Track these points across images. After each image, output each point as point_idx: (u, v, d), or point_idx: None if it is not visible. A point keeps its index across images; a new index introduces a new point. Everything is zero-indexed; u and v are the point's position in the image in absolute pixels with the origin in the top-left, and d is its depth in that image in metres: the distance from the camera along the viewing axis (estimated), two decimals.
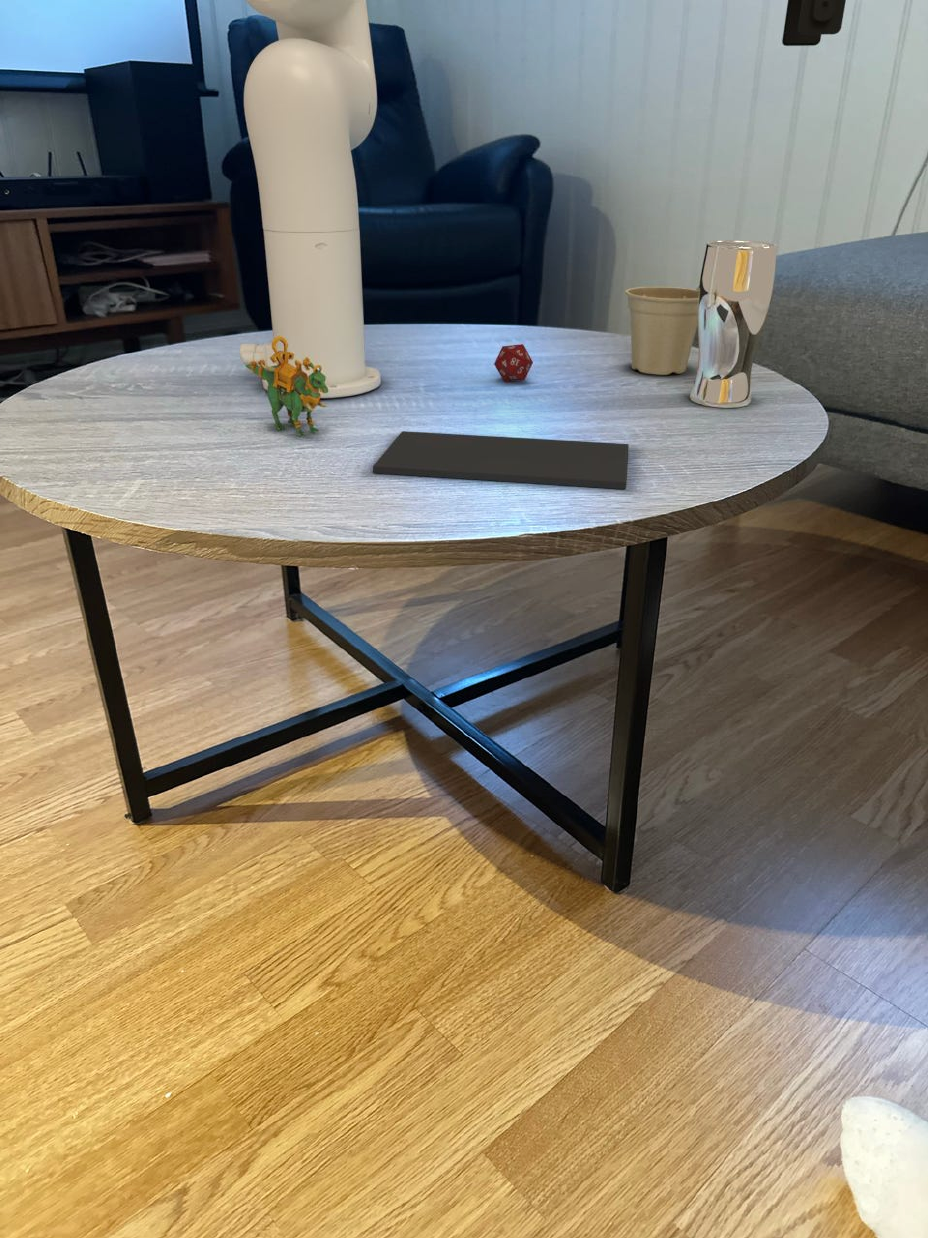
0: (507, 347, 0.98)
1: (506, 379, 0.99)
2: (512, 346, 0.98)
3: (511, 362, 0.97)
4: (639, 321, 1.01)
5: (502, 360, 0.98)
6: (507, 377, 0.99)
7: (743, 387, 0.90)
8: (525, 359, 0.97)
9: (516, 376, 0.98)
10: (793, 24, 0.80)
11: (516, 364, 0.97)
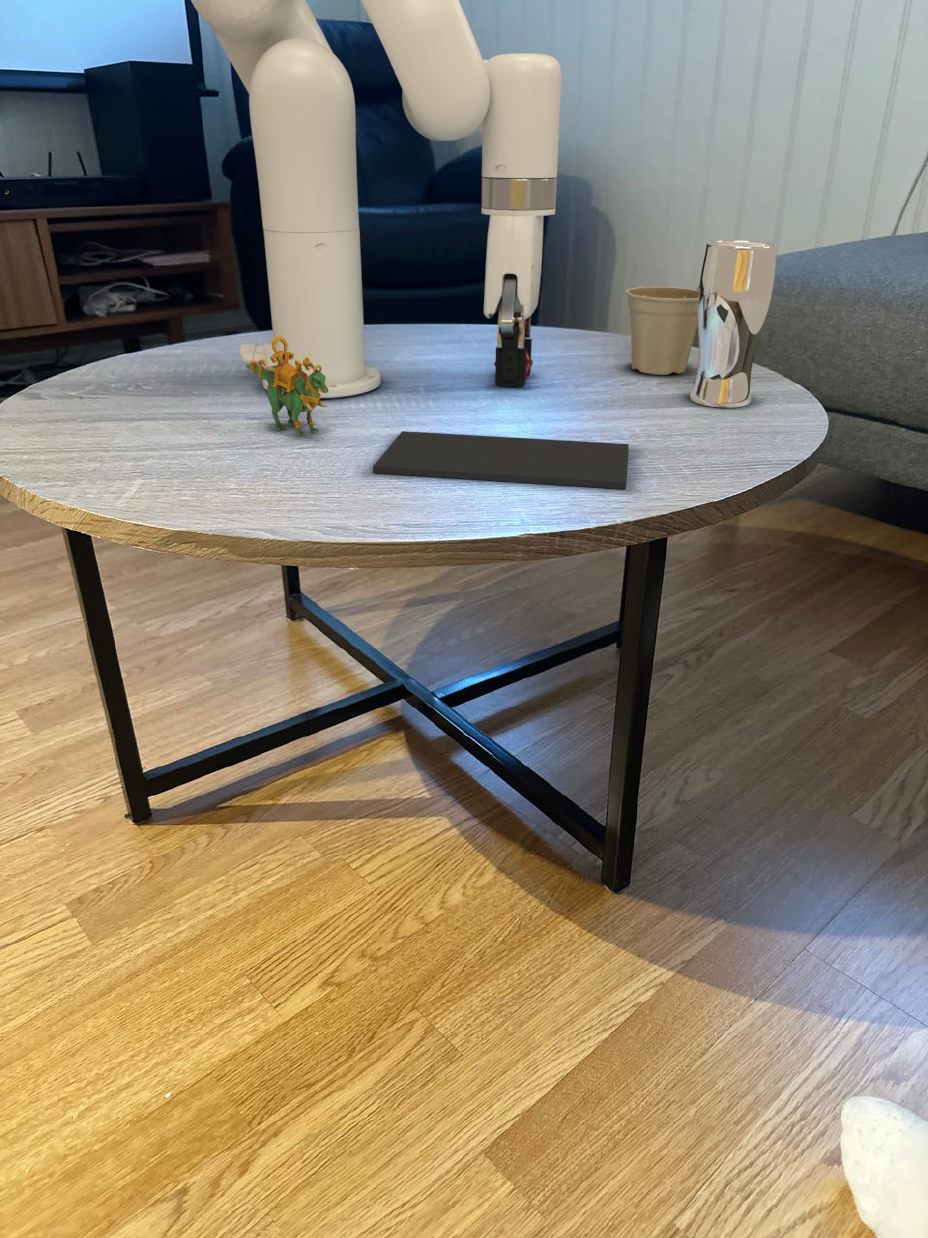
0: None
1: None
2: None
3: None
4: (639, 321, 1.01)
5: None
6: None
7: (743, 387, 0.90)
8: None
9: None
10: None
11: None
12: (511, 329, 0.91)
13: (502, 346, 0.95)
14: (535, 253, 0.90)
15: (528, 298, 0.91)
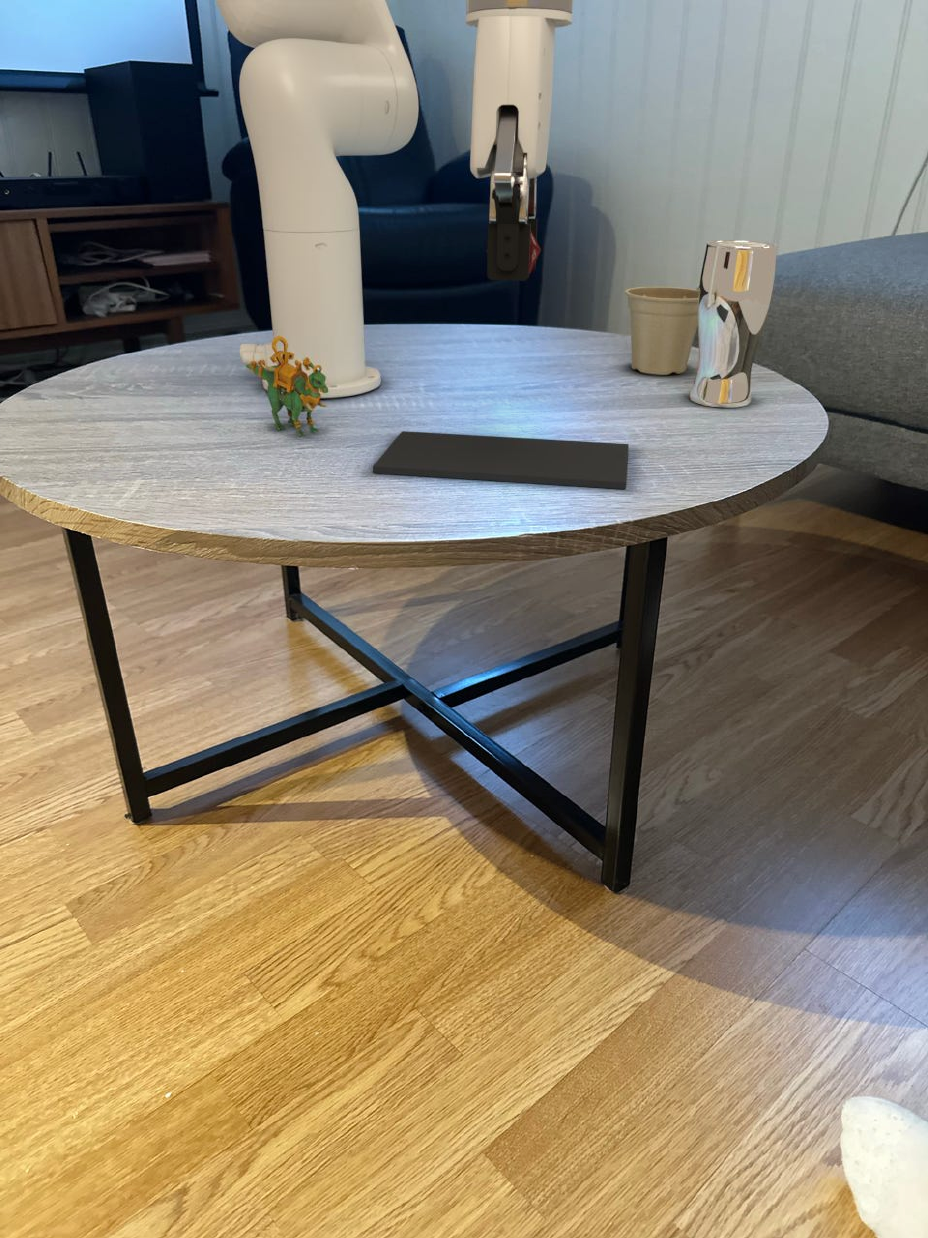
0: None
1: None
2: None
3: None
4: (639, 321, 1.01)
5: None
6: None
7: (743, 387, 0.90)
8: (530, 242, 0.70)
9: None
10: None
11: None
12: (510, 187, 0.63)
13: (497, 219, 0.67)
14: (544, 76, 0.63)
15: (533, 142, 0.63)
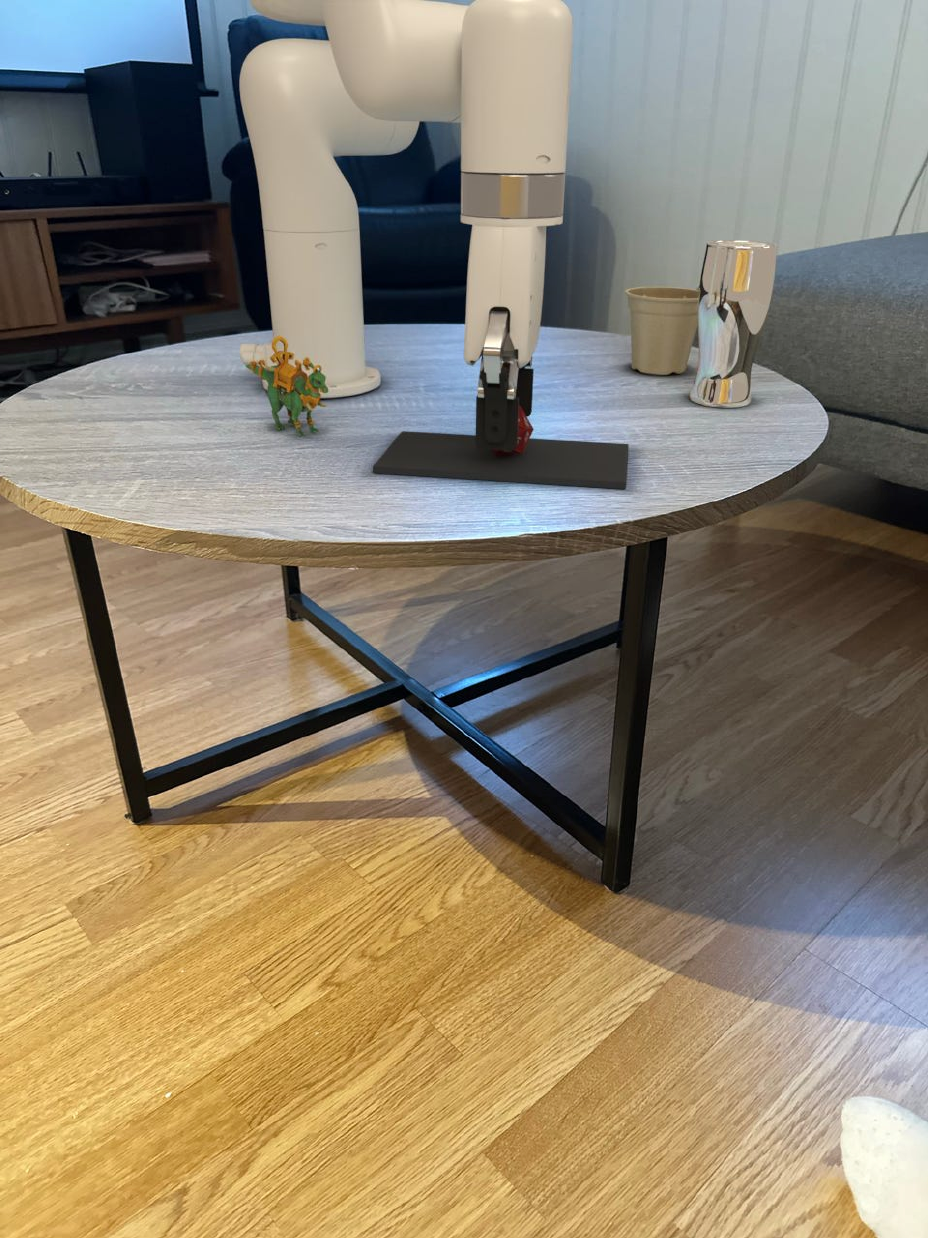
0: None
1: (498, 452, 0.74)
2: None
3: None
4: (639, 321, 1.01)
5: None
6: (499, 450, 0.74)
7: (743, 387, 0.90)
8: (523, 427, 0.72)
9: None
10: None
11: None
12: (498, 362, 0.63)
13: (485, 396, 0.67)
14: (535, 278, 0.65)
15: (524, 340, 0.66)
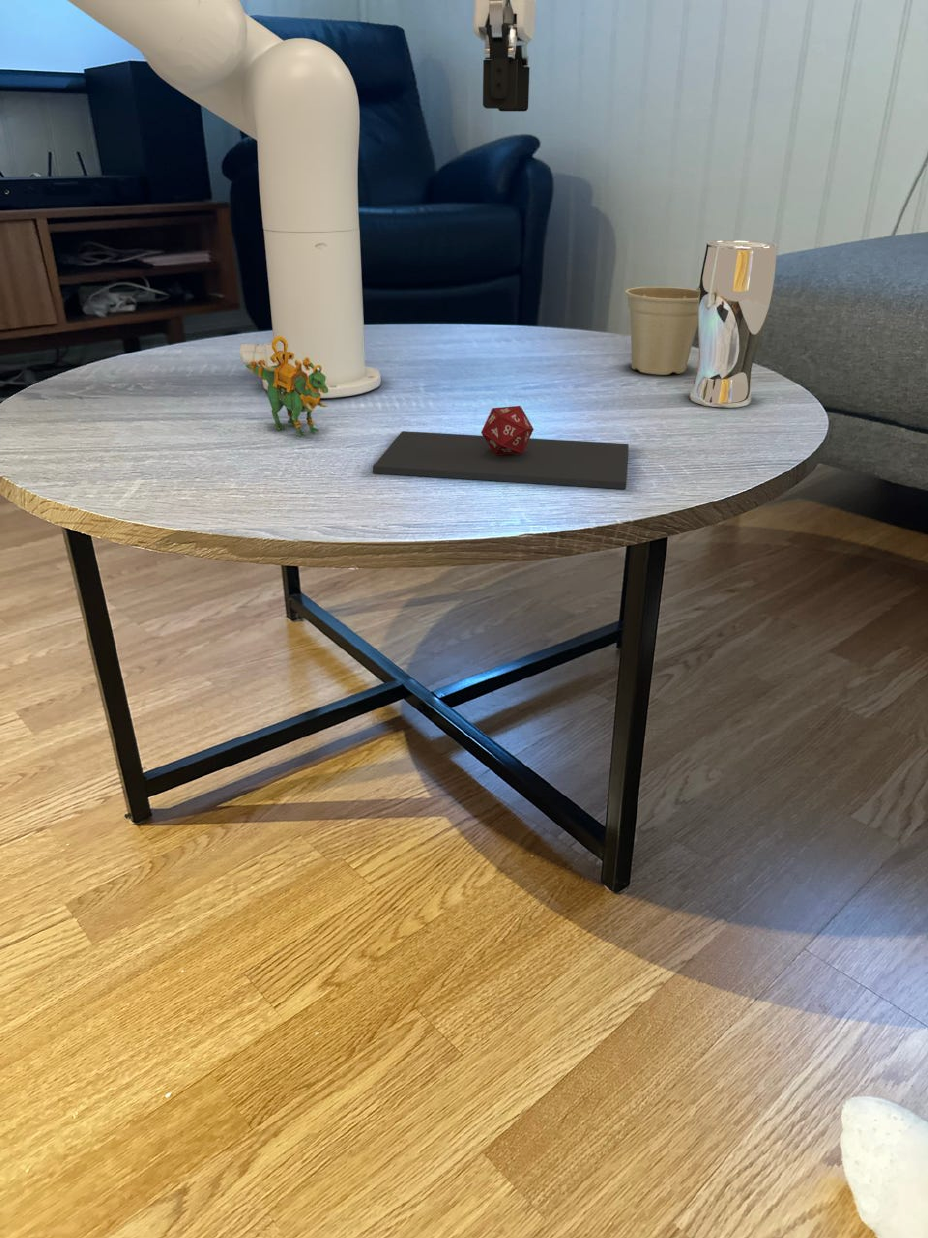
0: (499, 410, 0.73)
1: (498, 452, 0.74)
2: (506, 409, 0.73)
3: (505, 431, 0.72)
4: (639, 321, 1.01)
5: (493, 428, 0.73)
6: (499, 450, 0.74)
7: (743, 387, 0.90)
8: (523, 427, 0.72)
9: (511, 449, 0.73)
10: None
11: (511, 434, 0.72)
12: (501, 12, 0.81)
13: (490, 54, 0.84)
14: None
15: (521, 5, 0.83)
